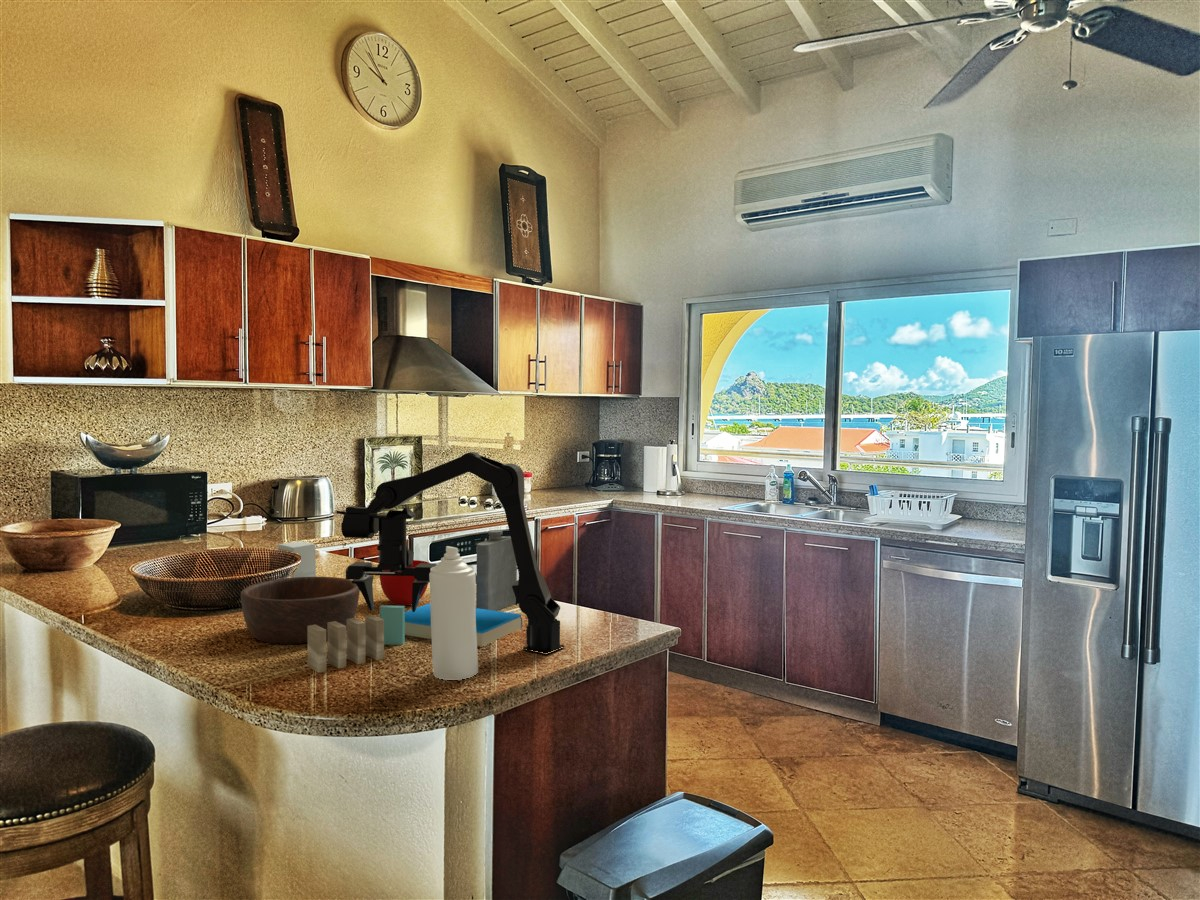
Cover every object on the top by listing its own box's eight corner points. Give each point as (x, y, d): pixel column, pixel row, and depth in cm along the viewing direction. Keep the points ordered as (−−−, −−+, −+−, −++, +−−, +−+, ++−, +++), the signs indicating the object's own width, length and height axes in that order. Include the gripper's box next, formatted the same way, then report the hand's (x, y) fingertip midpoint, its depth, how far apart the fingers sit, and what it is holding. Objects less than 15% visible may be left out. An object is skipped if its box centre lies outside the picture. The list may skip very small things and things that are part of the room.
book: (483, 631, 172) (388, 616, 182) (482, 651, 172) (387, 635, 182) (522, 613, 188) (433, 600, 198) (522, 631, 188) (433, 617, 198)
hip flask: (484, 616, 198) (485, 535, 197) (470, 614, 199) (471, 534, 198) (518, 603, 212) (519, 527, 211) (505, 601, 214) (506, 526, 213)
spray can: (493, 679, 152) (494, 547, 151) (441, 690, 146) (441, 552, 145) (466, 663, 161) (467, 538, 160) (415, 672, 155) (416, 543, 154)
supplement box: (300, 584, 230) (300, 540, 230) (316, 588, 226) (316, 543, 225) (277, 589, 224) (276, 543, 224) (292, 593, 220) (292, 546, 219)
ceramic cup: (443, 595, 220) (443, 558, 220) (418, 609, 203) (418, 570, 203) (398, 592, 222) (398, 556, 222) (370, 607, 206) (370, 568, 205)
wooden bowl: (226, 651, 168) (225, 601, 167) (257, 619, 192) (257, 577, 192) (351, 647, 171) (351, 599, 171) (366, 617, 196) (366, 575, 196)
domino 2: (335, 660, 162) (335, 621, 161) (346, 666, 158) (346, 626, 158) (327, 662, 161) (327, 622, 160) (338, 668, 157) (338, 627, 157)
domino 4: (372, 653, 167) (372, 614, 167) (384, 658, 164) (383, 619, 163) (365, 654, 166) (365, 615, 166) (376, 660, 162) (376, 620, 162)
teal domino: (402, 644, 173) (402, 607, 173) (379, 644, 174) (379, 607, 173) (404, 642, 175) (404, 605, 175) (381, 641, 175) (381, 605, 175)
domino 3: (354, 656, 165) (354, 617, 164) (365, 662, 161) (365, 622, 160) (346, 658, 163) (346, 619, 163) (357, 664, 160) (357, 624, 159)
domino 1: (315, 664, 159) (315, 624, 159) (326, 670, 155) (326, 629, 155) (307, 666, 158) (307, 625, 158) (318, 672, 154) (318, 631, 154)
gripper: (444, 534, 181) (444, 603, 182) (362, 532, 182) (362, 601, 182) (432, 542, 170) (432, 615, 170) (344, 540, 171) (344, 613, 171)
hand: (392, 611), depth 174 cm, fingers open, 9 cm apart
